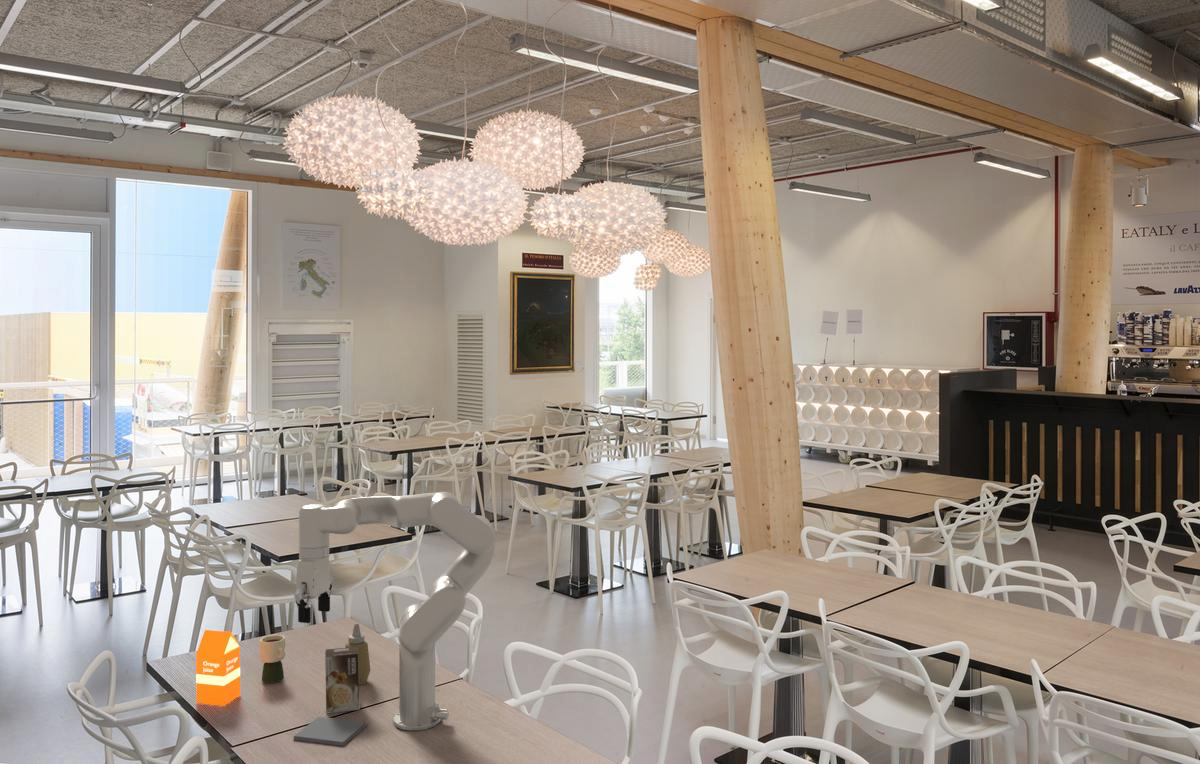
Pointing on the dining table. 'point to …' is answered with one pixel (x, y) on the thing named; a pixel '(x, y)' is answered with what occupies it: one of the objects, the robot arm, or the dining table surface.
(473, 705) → the dining table surface
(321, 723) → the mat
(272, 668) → the character mug
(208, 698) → the orange juice
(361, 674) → the squeeze bottle
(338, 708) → the coffee box
